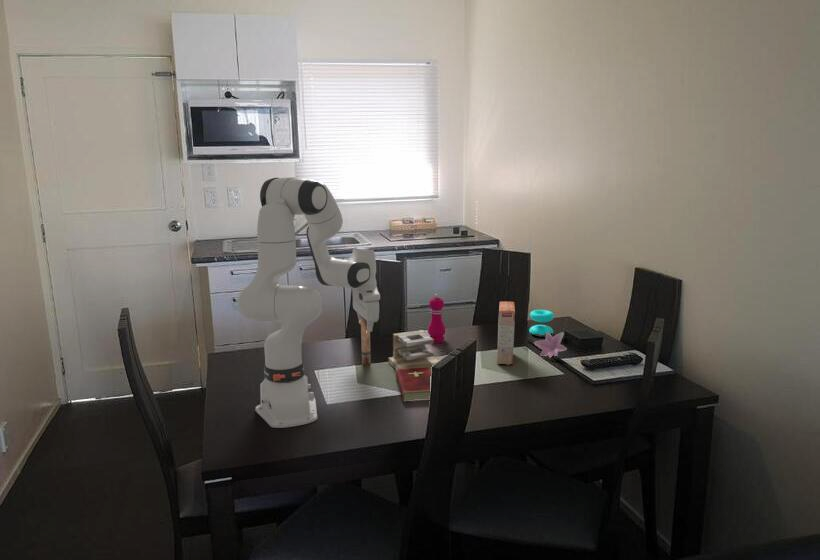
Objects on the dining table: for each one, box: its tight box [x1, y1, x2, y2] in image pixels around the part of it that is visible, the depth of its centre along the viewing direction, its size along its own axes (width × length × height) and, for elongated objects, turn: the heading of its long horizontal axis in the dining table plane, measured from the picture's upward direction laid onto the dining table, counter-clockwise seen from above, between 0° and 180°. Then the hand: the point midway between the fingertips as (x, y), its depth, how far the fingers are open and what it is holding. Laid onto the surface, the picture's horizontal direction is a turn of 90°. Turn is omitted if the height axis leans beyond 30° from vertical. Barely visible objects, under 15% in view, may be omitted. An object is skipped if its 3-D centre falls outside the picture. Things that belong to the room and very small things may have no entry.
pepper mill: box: [427, 293, 446, 344], centre depth 257 cm, size 7×7×20 cm
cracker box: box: [496, 301, 516, 365], centre depth 235 cm, size 14×6×21 cm, turn 171°
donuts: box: [529, 309, 555, 335], centre depth 265 cm, size 10×10×10 cm
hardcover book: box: [395, 367, 431, 402], centre depth 210 cm, size 12×21×4 cm, turn 7°
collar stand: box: [387, 329, 440, 370], centre depth 230 cm, size 14×16×11 cm
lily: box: [533, 331, 568, 359], centre depth 238 cm, size 12×12×10 cm
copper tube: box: [360, 317, 372, 366], centre depth 232 cm, size 3×3×18 cm
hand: (365, 327), depth 231 cm, fingers open, 8 cm apart
